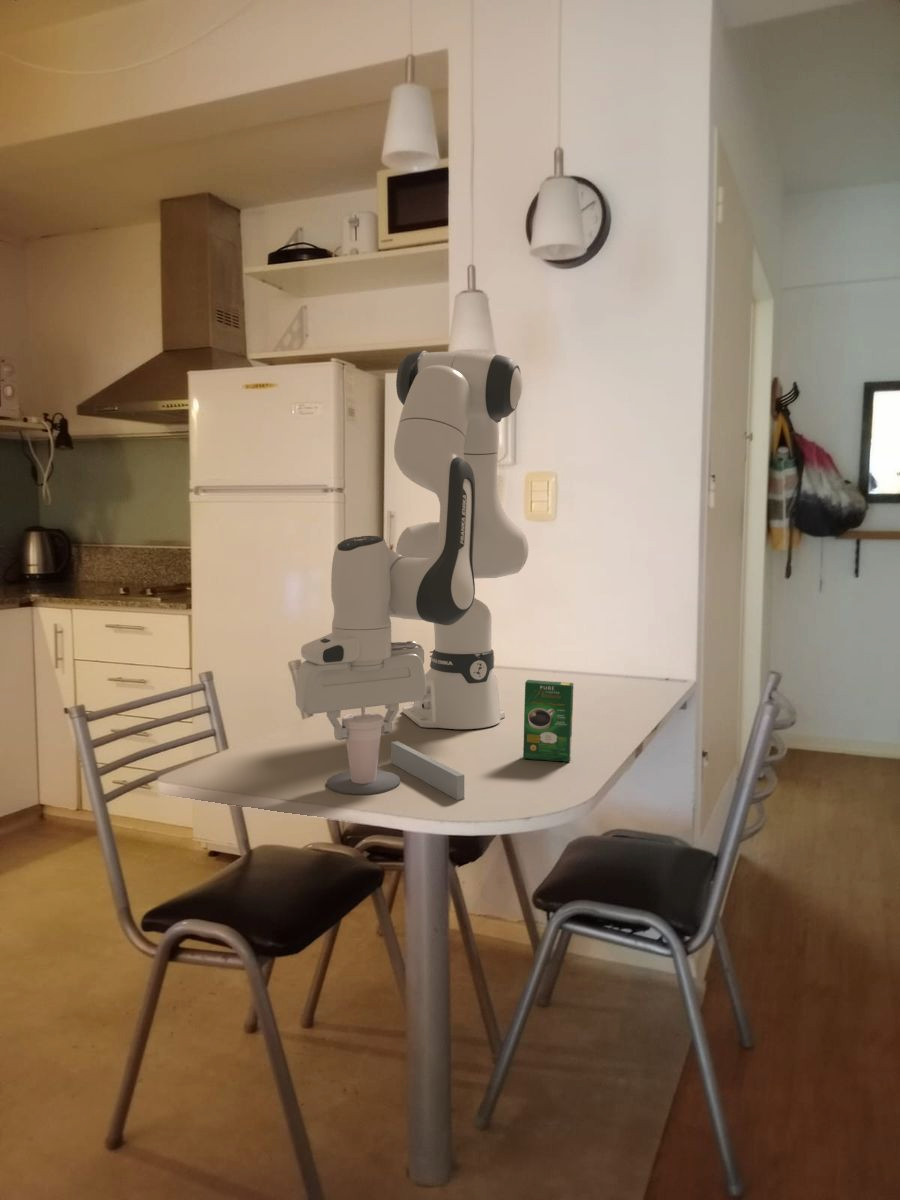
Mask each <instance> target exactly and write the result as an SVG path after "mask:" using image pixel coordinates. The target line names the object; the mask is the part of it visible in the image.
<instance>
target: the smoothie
mask: <svg viewBox="0 0 900 1200" xmlns="http://www.w3.org/2000/svg"><path fill="white" fill-rule="evenodd" d="M360 710H361V711H360V712H356V713H349V714H346V715H344V716H342V718H341V726H344V727H346V728H348V732H347V735H348V738H347V739H345V744H346V750H347V751H346V753H347V758H348V759H347V760H348V765H349V771H350V773H351V780H352V782H354V783H359V784H366V783H372V782H374V781H375V780H376V774H377V770H378V765H379V764H378V763H379V753H380V747H381V746H380V745H381V737H382V733H381V729H382V725H384V717H385V716H383V715H382V714H378V713H374V712H366V707H365V708H360Z"/></svg>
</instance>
